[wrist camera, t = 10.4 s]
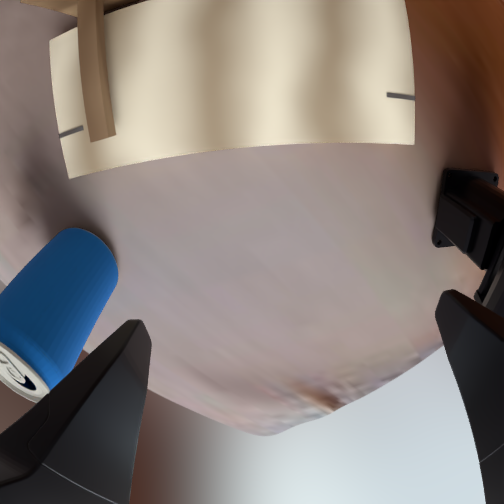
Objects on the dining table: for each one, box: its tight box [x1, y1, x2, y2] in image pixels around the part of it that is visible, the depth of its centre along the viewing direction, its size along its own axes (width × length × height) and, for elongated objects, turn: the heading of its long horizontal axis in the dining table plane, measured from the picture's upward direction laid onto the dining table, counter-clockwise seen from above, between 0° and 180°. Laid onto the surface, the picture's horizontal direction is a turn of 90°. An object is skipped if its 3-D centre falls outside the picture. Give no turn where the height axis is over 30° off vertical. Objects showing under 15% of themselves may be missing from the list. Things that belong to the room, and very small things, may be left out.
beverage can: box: [0, 228, 118, 403], centre depth 15 cm, size 6×6×12 cm
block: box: [20, 0, 137, 143], centre depth 10 cm, size 4×12×7 cm, turn 5°
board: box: [49, 0, 415, 179], centre depth 13 cm, size 22×10×2 cm, turn 95°
